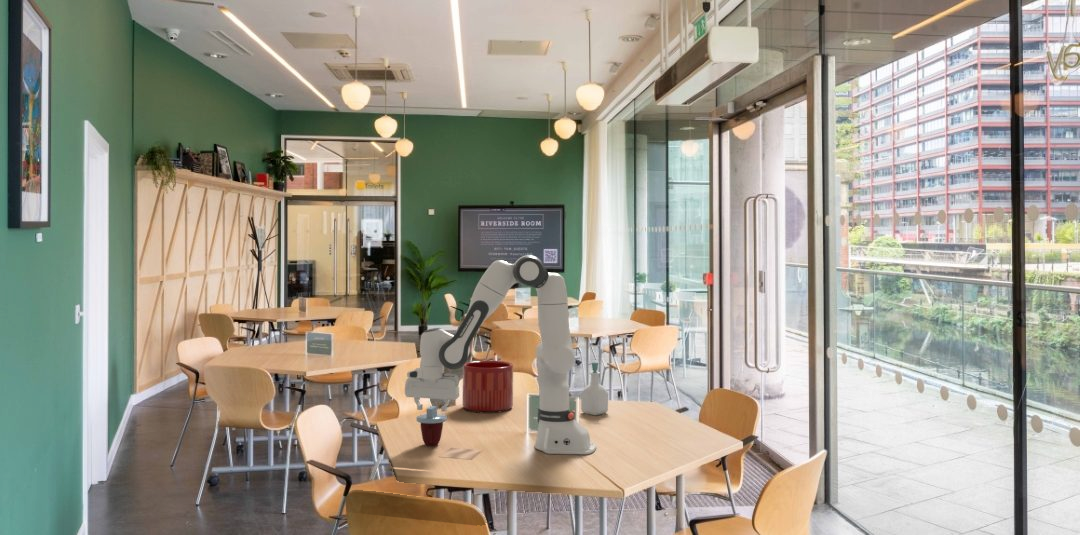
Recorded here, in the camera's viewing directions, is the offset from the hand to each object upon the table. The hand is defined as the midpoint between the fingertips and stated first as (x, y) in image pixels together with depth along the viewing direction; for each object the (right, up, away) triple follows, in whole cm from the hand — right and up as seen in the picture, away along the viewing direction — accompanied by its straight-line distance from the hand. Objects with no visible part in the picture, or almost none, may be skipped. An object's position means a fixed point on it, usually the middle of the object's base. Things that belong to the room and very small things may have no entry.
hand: (431, 410), depth 262 cm
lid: (0, -3, 0) cm, 3 cm away
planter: (+15, -13, +67) cm, 70 cm away
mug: (0, -14, 0) cm, 14 cm away
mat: (+12, -14, -10) cm, 21 cm away
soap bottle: (+64, -13, +59) cm, 88 cm away
